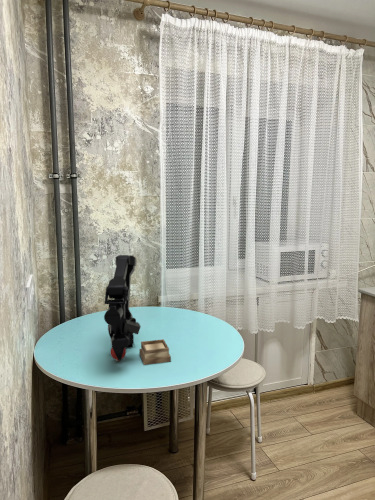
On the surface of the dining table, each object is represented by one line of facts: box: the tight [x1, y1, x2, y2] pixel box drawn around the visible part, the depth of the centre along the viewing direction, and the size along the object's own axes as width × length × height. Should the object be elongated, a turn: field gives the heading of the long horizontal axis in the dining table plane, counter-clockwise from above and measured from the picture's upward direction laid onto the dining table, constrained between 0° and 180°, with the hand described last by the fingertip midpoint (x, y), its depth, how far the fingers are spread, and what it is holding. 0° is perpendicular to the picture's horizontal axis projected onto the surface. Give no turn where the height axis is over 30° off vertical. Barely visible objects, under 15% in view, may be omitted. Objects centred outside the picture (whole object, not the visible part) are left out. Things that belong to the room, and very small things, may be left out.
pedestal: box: [138, 338, 172, 366], centre depth 146 cm, size 10×10×5 cm
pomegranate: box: [109, 347, 127, 362], centre depth 143 cm, size 6×6×8 cm
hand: (118, 355), depth 144 cm, fingers open, 9 cm apart
